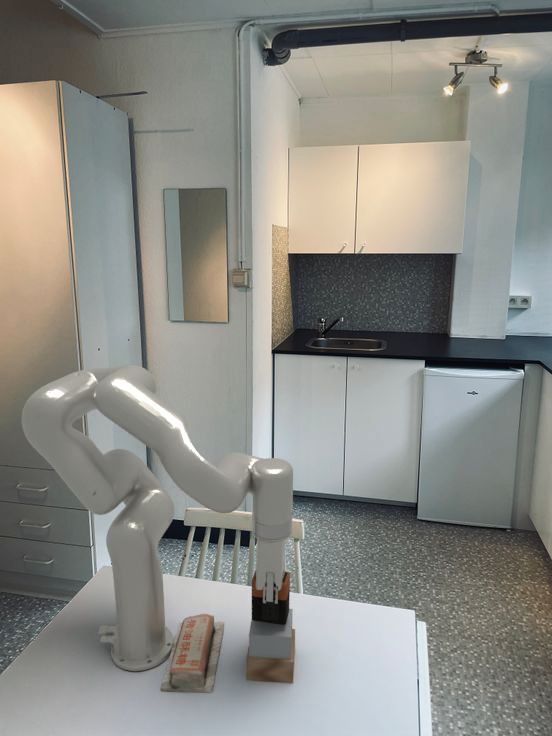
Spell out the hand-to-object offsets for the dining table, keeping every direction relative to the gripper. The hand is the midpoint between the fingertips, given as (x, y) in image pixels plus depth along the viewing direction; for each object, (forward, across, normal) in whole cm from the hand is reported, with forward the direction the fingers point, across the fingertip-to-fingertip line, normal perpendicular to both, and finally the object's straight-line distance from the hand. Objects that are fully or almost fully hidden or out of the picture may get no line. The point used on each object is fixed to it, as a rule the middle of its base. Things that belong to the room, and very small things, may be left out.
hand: (271, 608), depth 104 cm
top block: (+8, 0, 0) cm, 8 cm away
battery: (+2, 0, 0) cm, 2 cm away
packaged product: (+14, -1, -16) cm, 21 cm away
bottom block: (+13, 0, 0) cm, 13 cm away
